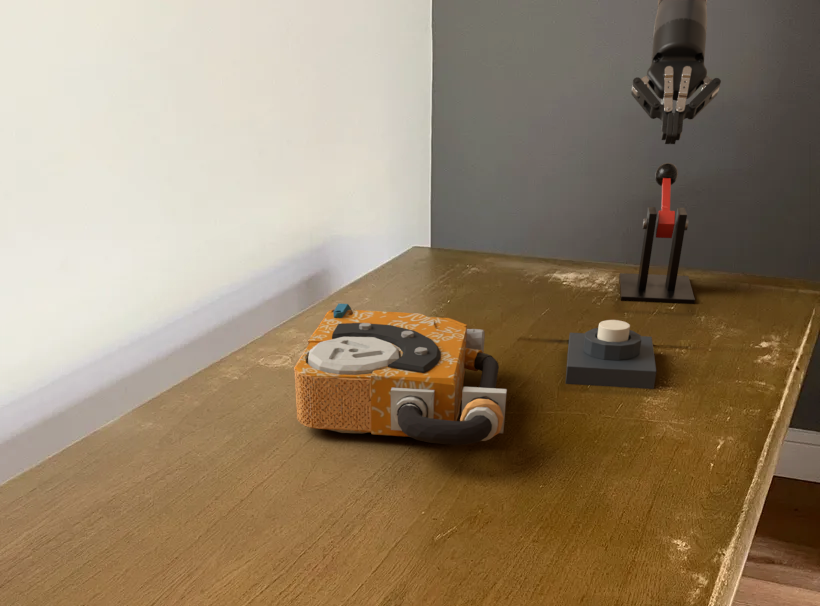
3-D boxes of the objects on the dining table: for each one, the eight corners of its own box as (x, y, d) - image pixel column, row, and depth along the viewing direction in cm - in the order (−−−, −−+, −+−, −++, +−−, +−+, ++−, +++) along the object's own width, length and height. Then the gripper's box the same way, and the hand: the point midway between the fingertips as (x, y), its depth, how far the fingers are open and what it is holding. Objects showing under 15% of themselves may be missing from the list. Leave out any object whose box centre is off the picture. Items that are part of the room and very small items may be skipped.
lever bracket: (618, 283, 145) (629, 200, 138) (686, 285, 143) (700, 202, 137) (619, 307, 135) (631, 219, 129) (693, 310, 134) (708, 221, 127)
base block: (567, 349, 121) (571, 318, 119) (649, 353, 120) (654, 322, 117) (565, 384, 112) (568, 351, 109) (653, 389, 110) (659, 355, 108)
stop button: (597, 333, 115) (598, 318, 114) (627, 334, 115) (629, 320, 114) (597, 343, 112) (598, 328, 111) (628, 345, 112) (630, 330, 111)
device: (517, 300, 111) (504, 398, 87) (511, 368, 116) (498, 480, 92) (326, 293, 115) (262, 385, 90) (329, 359, 119) (269, 465, 95)
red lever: (653, 177, 142) (657, 157, 139) (676, 178, 141) (679, 158, 138) (651, 240, 135) (655, 220, 132) (675, 241, 134) (679, 221, 131)
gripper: (636, 16, 139) (626, 122, 136) (731, 16, 136) (724, 123, 133) (630, 55, 146) (621, 156, 143) (720, 55, 144) (713, 158, 141)
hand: (670, 140), depth 138 cm, fingers closed
